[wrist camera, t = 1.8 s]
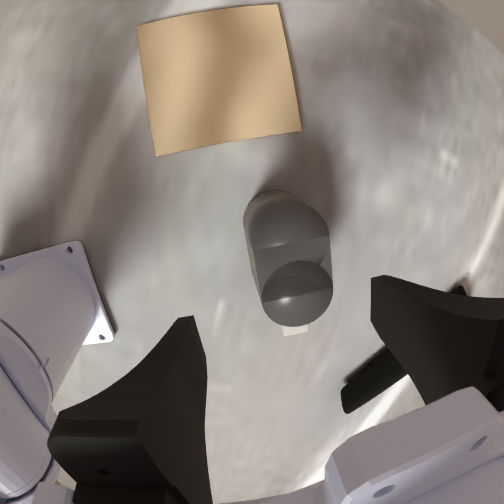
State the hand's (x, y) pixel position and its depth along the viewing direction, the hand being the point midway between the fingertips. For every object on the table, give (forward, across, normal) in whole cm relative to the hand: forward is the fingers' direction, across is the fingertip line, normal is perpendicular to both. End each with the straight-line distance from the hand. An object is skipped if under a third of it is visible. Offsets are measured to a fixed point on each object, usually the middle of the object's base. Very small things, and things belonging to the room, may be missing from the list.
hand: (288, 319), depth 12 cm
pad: (+10, +1, -12) cm, 15 cm away
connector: (+10, -1, 0) cm, 10 cm away
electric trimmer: (+10, -12, +12) cm, 20 cm away
